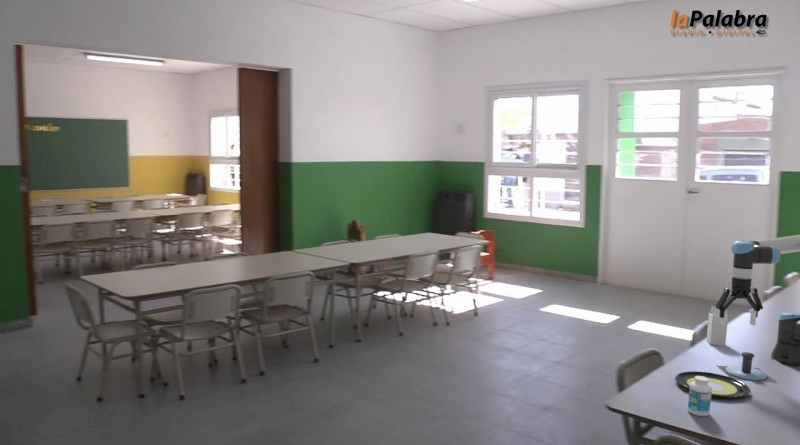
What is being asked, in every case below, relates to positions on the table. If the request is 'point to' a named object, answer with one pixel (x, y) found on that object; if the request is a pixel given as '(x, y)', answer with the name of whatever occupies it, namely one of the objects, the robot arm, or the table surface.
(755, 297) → the robot arm
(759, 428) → the table surface
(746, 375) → the lid
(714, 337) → the milk carton
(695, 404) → the pill bottle
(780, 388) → the table surface
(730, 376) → the mat
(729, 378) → the plate
